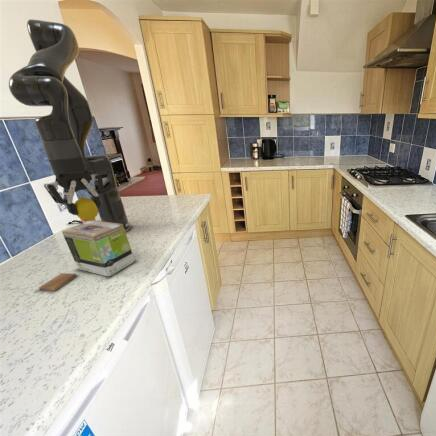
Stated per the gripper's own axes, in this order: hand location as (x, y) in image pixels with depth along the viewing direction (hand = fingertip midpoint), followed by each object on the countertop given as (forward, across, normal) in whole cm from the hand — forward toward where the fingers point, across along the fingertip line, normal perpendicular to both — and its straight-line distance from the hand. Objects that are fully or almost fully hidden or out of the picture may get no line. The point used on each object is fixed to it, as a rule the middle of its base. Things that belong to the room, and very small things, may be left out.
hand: (86, 210), depth 76 cm
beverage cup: (+20, -17, -43) cm, 50 cm away
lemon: (+4, 0, 0) cm, 4 cm away
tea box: (+20, 0, 0) cm, 20 cm away
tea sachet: (+20, +12, -4) cm, 24 cm away
